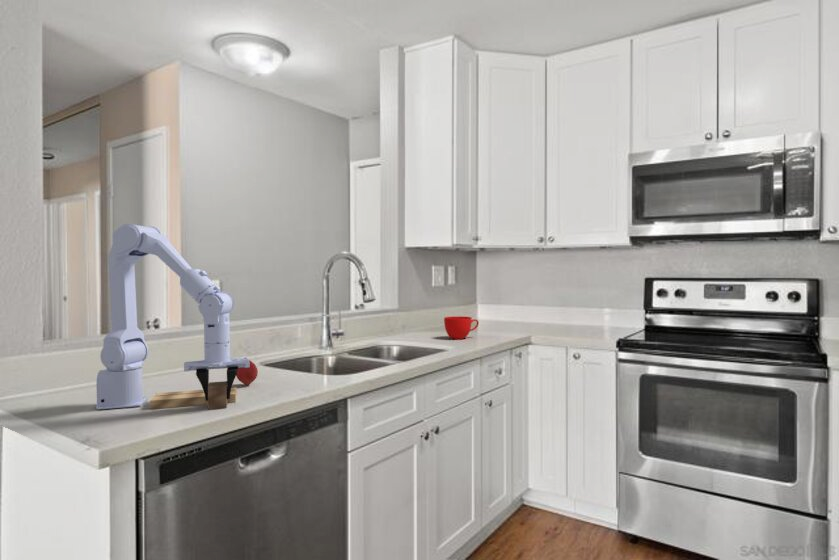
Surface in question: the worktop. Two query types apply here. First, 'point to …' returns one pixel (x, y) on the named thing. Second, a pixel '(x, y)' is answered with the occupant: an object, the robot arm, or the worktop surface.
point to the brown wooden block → (217, 395)
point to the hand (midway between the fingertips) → (218, 399)
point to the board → (184, 399)
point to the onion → (247, 373)
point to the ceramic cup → (459, 326)
